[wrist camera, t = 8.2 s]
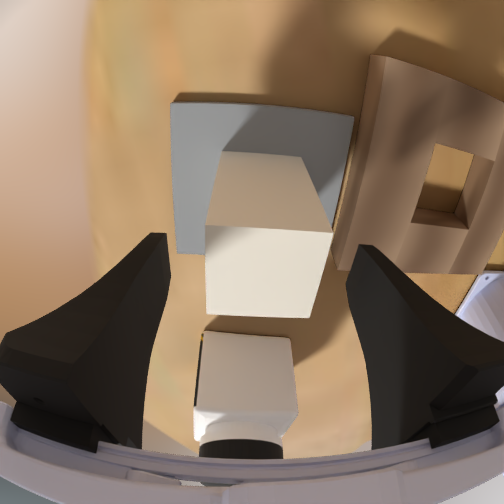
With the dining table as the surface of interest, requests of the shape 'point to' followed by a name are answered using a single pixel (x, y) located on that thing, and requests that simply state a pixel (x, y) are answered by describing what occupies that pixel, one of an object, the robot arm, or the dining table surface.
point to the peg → (264, 237)
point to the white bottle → (243, 396)
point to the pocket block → (422, 172)
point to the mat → (253, 141)
